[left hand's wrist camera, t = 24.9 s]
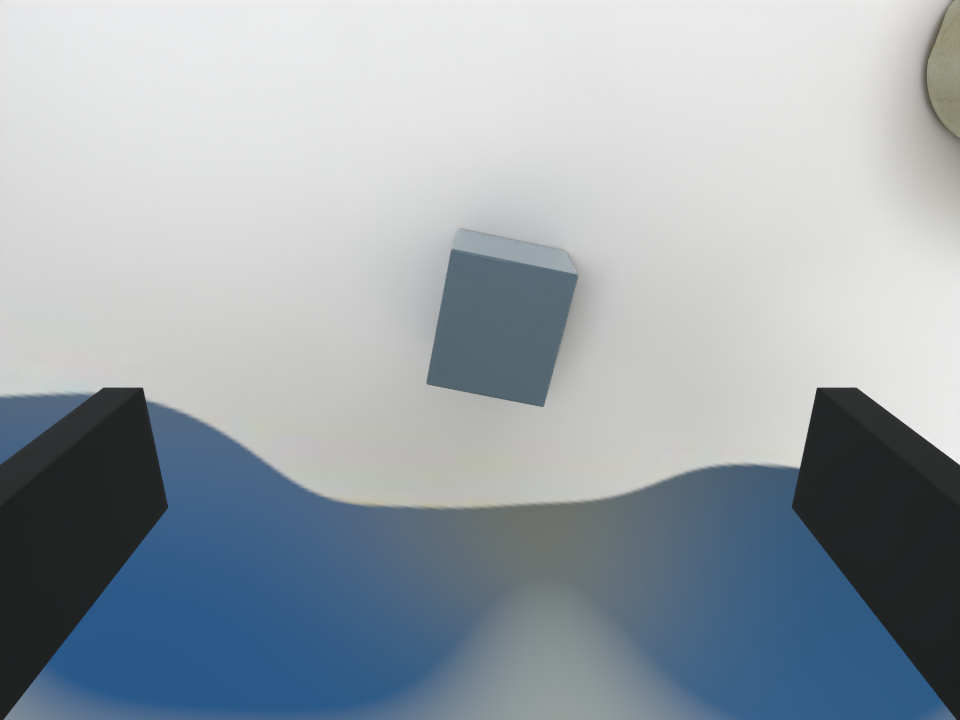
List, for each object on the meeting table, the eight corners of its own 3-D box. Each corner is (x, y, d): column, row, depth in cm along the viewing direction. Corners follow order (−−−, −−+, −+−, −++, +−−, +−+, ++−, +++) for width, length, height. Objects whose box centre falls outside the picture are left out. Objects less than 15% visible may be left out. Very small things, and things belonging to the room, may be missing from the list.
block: (536, 366, 27) (543, 407, 23) (435, 345, 27) (425, 384, 23) (566, 250, 25) (579, 274, 21) (458, 228, 25) (451, 248, 21)
